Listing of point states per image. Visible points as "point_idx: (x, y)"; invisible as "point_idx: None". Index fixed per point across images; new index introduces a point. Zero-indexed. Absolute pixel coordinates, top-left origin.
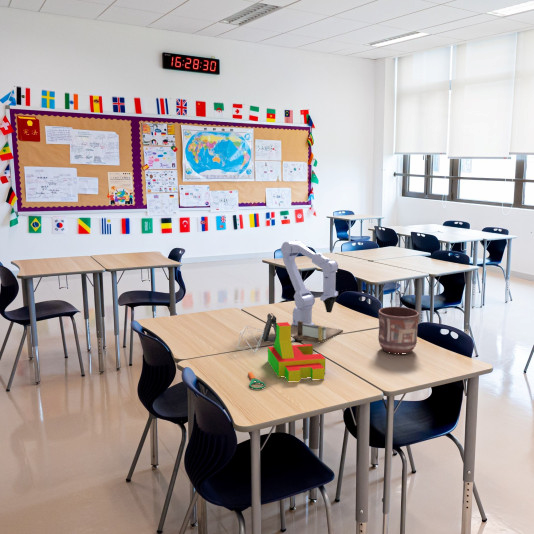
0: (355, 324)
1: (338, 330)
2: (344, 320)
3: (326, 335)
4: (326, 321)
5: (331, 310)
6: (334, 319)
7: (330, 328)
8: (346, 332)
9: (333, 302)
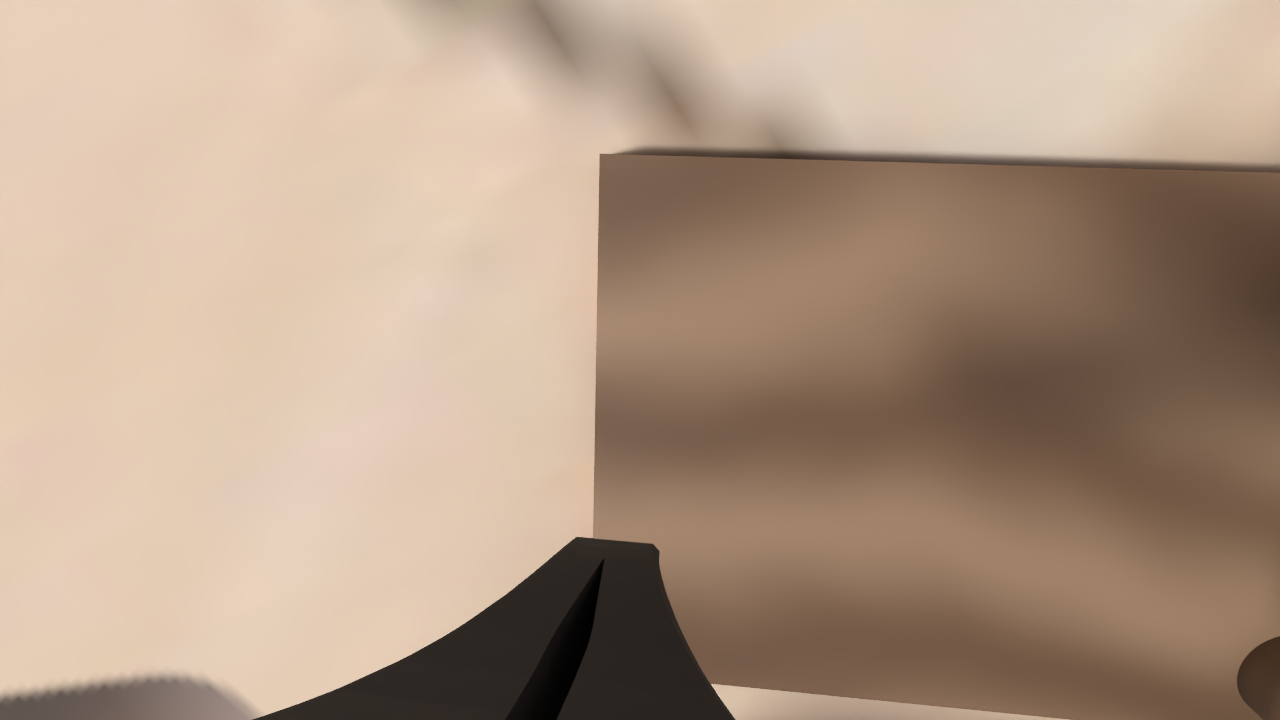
0: (65, 173)
1: (677, 213)
2: (3, 432)
3: (1119, 262)
4: (235, 640)
5: (590, 553)
6: (66, 582)
7: (639, 396)
8: (594, 82)
9: (449, 714)
